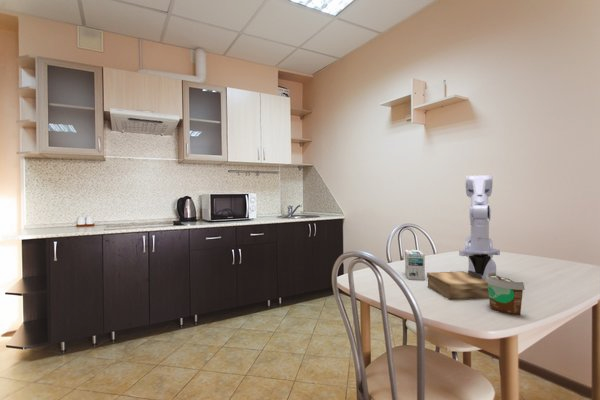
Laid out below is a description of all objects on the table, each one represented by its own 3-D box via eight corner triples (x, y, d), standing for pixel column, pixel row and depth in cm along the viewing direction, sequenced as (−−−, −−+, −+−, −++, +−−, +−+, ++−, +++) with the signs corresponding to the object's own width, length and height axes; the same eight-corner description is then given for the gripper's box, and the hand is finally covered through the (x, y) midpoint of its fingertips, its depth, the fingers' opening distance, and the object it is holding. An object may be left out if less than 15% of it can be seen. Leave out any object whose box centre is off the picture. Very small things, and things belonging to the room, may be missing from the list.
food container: (476, 302, 101) (476, 272, 101) (494, 302, 101) (494, 271, 101) (504, 318, 88) (504, 283, 88) (524, 317, 89) (524, 282, 89)
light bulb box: (425, 280, 127) (425, 254, 127) (408, 279, 128) (408, 253, 128) (420, 273, 137) (420, 249, 137) (404, 273, 139) (404, 249, 139)
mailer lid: (463, 275, 120) (463, 267, 120) (492, 287, 105) (492, 278, 105) (426, 277, 118) (427, 268, 118) (450, 289, 103) (450, 279, 103)
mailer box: (464, 285, 119) (464, 274, 119) (490, 297, 105) (490, 284, 105) (427, 287, 118) (427, 275, 118) (449, 299, 104) (449, 286, 104)
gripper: (468, 240, 107) (467, 278, 107) (506, 239, 109) (506, 277, 109) (455, 237, 114) (455, 273, 115) (492, 236, 116) (491, 272, 116)
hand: (479, 275), depth 112 cm, fingers closed
